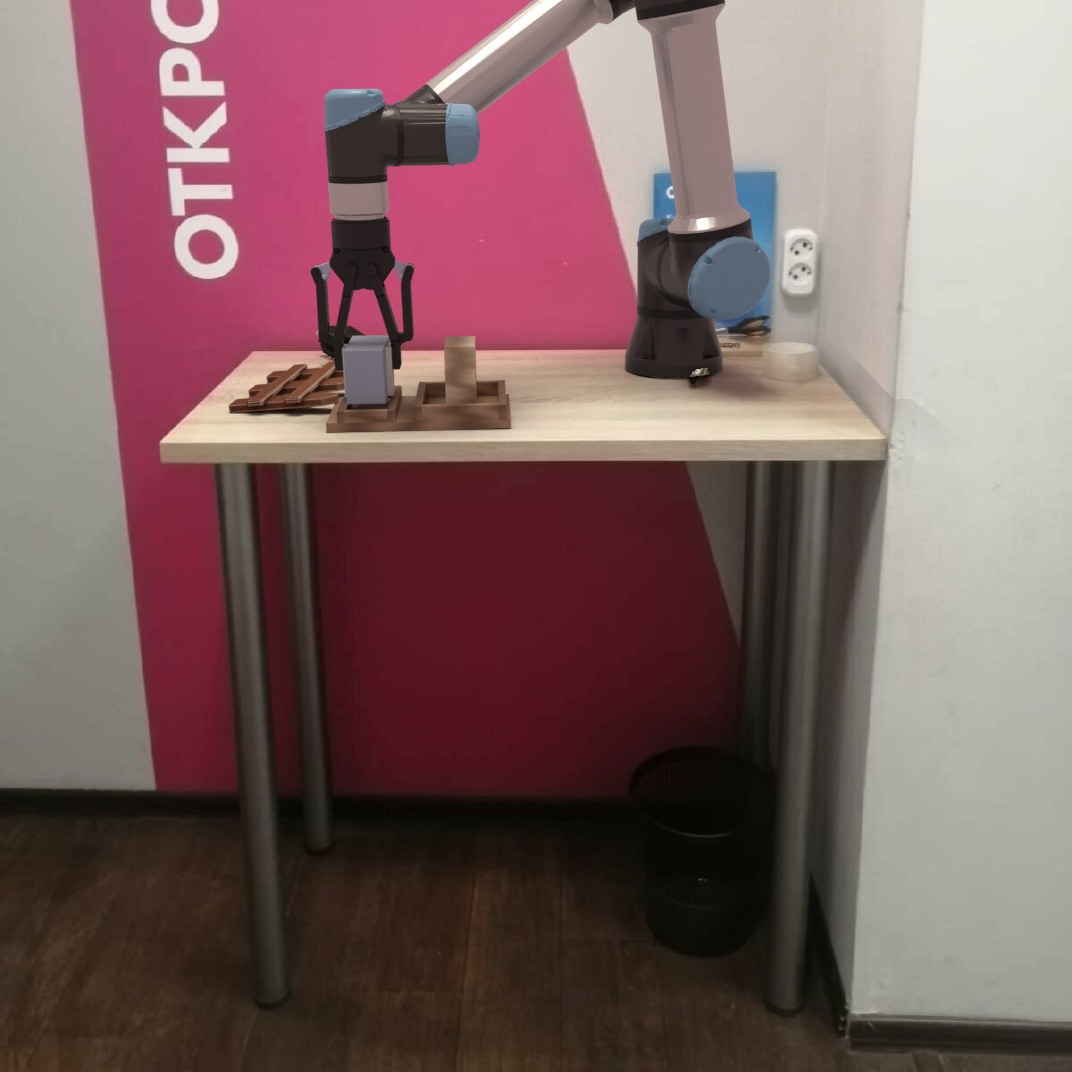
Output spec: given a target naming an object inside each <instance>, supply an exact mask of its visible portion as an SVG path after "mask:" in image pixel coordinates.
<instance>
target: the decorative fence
mask: <svg viewBox="0 0 1072 1072" xmlns="http://www.w3.org/2000/svg"><path fill="white" fill-rule="evenodd" d="M265 378H266V383H260V384H257V383H256V384H255V385H253V386H252V387H251V388H249V389H248V391H247V392H248V396H249V397H246V398H236V399H235V400H234V401H232V402H231V403H229V405H228V410H229V413H230V414H237V413H251V412H265V411H274V410H275V411H278V410H287V409H301V408H302V409H304V408H316V407H325V406H330V405H334V404H335V403H337V402H338V401H339V397H340V396H339V393H338V392H339V391H340V392H341V391H345V389H344V373H343V371H337V370H336V368H335V360H334V361H328V362H326V363H325V364H324V365H322V366H321V367H310V368H308V364H307V363H299V364H293V365H292V366H291V367H290V368H288V369H287V370H274V371H272V372H270V373H269V374H267V376H265Z"/></svg>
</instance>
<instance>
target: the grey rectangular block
mask: <svg viewBox="0 0 1072 1072" xmlns="http://www.w3.org/2000/svg"><path fill="white" fill-rule="evenodd" d="M387 343H390V339H389V336H388V334H387V335H386V334H384V335H383V334H382V335H380V334H379V335H378V334H377V335H375V334H374V335H366V336H352V338H351V339H350V341H349V343H348V344H347V346H346V348H345V350H344V366H345V382H346V397H347V404H385V403H386V400H387V397H388V389H387V370H386V351H385V347H386V345H387Z"/></svg>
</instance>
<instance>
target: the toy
mask: <svg viewBox="0 0 1072 1072" xmlns="http://www.w3.org/2000/svg"><path fill="white" fill-rule="evenodd" d="M335 329H336V325H330V333H333V334H335ZM315 334H316V336H317V337H319V332H318V330H316V331H315ZM352 336H367V335H366V334H364V333H363V332H361V331H360V330H358V329H356V328H355V327H353V326H352V325H347V328H346V333H345V338H344V339H345V340H344V344H348V343H349V341H350V339H351V338H352ZM317 342H318V343H319V344H320V345H319V346H320V348H321V351H322V353H323V354H325V355H327V356H328V357H330V358H332V359H334V348H333V346H332V345H330V344H327V343H322V342H320V340H319V338H318V339H317Z"/></svg>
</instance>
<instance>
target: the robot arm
mask: <svg viewBox="0 0 1072 1072" xmlns="http://www.w3.org/2000/svg"><path fill="white" fill-rule="evenodd" d="M725 7H726V0H532V1H530V2H529V3H528V4H527V5H526V6H524V7H523V8H521V10H519V11H518V12H516V13H515V14H514V15H512V16H511V17H510V18H509V19H507V20H506V21H505V22H503V23H502V24H501V25H499V26H498V27H497V28H496V29H494V30H493V31H492V32H490V33H489V34H488V35H486V36H485V37H484V38H483V39H481V40H480V41H479V42H477V43H476V44H475V45H474V46H473V47H471V48H469V49H468V50H467V51H466V52H465V53H463V54H462V55H460V56H459V57H458V58H457V59H456V60H454V61H453V62H451V63H450V64H449V65H448V66H446V67H444V69H442V70H441V71H440V72H439V73H437V74H436V75H435V76H433V77H432V78H430V79H429V80H428V81H427V82H425V84H424V85H422V86H421V87H420V88H418V89H417V90H415V91H414V92H413V93H411V94H410V95H408V96H407V97H406V98H405V99H404V100H399V101H396V102H394V103H393V104H388V103H387V104H386V101H385V99H384V93H383V91H382V90H381V89H379V88H336V89H334V88H333V89H330V90H329V91H327V93H326V94H325V96H324V100H323V106H324V107H323V110H324V113H323V114H324V119H323V120H324V121H323V122H324V124H323V131H324V138H325V139H324V141H325V142H324V143H325V152H326V153H325V154H326V167H327V178H328V180H327V181H328V182H327V186H328V199H329V201H328V202H329V203H328V204H329V212H330V214H331V215H333V216H334V217H333V218H332V219H331V220H330V230H331V231H330V232H331V246H332V251H331V252H332V253H331V256H330V258H329V261H327V262H324V263H322V264H315V265H314V266H313V267H311V269H310V272H309V273H310V276H311V278H312V279H313V282H314V285H315V291H316V292H315V295H316V313H317V327H318V330H317V331H318V332H317V333H318V335H319V336H318V339H319V340H320V342H322V343H327V344H330V345H332V346H333V348H334V361H335V368H336V370H337V371H343V373H344V389H345V390H344V394H345V396H346V382H345V366H344V350H345V348H346V346H347V344H344V340H345V339H344V338H345V333H346V328H347V326H348V322H349V316H350V312H351V308H352V307H351V306H352V303H353V297H354V293H355V291H359V290H363V289H364V290H368V291H373V294H374V297H375V298H376V301H377V304H378V307H379V311H380V314H381V316H382V320H383V323H384V326H385V327H384V328H385V330H386V332H387V335H388V336H389V339H390V343H387V345H386V347H385V351H386V370H387V389H388V396H393V395H394V392H395V386H396V385H395V370H401V367H402V364H403V362H402V345H403V344H404V343H407V342H411V341H412V340H413V339H414V334H415V330H414V313H413V311H414V310H413V296H412V295H413V293H412V279H413V276H414V273H415V269H416V267H415V265H414V263H411V262H409V263H405V262H402V261H399V260H396V257H395V255H394V253H393V251H392V243H391V239H392V238H391V224H390V223H391V221H390V219H389V217H387V216H386V215H385V214H387V213H388V212H389V211H390V206H389V204H390V203H389V201H390V200H389V185H388V184H389V182H388V167H392V168H396V167H397V168H398V167H419V166H420V167H422V166H427V167H428V166H429V167H430V166H432V167H433V166H450V167H454V166H456V165H469V164H472V163H474V162H475V161H476V159H477V157H478V155H479V152H480V148H481V147H480V146H481V128H480V121H479V117H478V116H479V115H480V114H482V113H483V112H484V111H486V110H487V109H488V108H490V107H491V106H492V105H493V104H494V103H495V102H497V101H498V100H500V99H501V98H502V97H504V96H505V95H506V94H507V93H508V92H510V91H511V90H513V89H514V88H515V87H516V86H518V85H519V84H521V83H522V82H523V81H524V80H525V79H528V78H529V77H530V75H532V74H534V73H535V72H536V71H537V70H539V69H540V68H541V67H543V65H545V64H546V63H548V62H549V61H550V60H551V59H553V58H555V57H556V56H557V55H558V54H559V53H561V52H562V51H563V50H565V49H566V48H567V47H569V46H570V45H571V44H573V43H574V42H575V41H576V40H578V39H579V38H581V37H582V36H583V35H584V34H585V33H587V32H589V31H590V30H591V29H592V28H594V27H595V26H596V25H597V24H603V25H610V24H611V23H612V22H613V21H616V19H618V18H619V17H621V16H622V15H623V14H625V13H627V12H629V11H630V10H632V9H635V15H636V20H637V21H636V22H637V24H639V25H640V26H641V27H643V28H644V29H645V30H647V31H648V32H649V34H650V37H651V44H652V49H653V50H652V51H653V58H654V64H655V65H654V66H655V73H656V80H657V86H658V87H657V88H658V94H659V100H660V106H661V107H660V108H661V114H662V122H663V128H664V129H663V130H664V134H665V135H664V136H665V142H666V143H665V144H666V148H667V149H666V150H667V156H668V162H669V163H668V165H669V171H670V177H671V183H672V191H673V198H674V207H675V216H674V217H664V218H650V219H649V218H648V219H645V220H642V222H641V224H639V228H638V237H637V241H636V246H637V270H636V271H637V275H636V276H637V279H636V281H637V284H636V285H637V292H636V293H637V294H636V295H637V297H636V299H637V300H636V302H637V304H636V305H637V307H636V308H637V309H636V321H635V324H634V327H633V329H632V332H631V335H630V338H629V341H628V344H627V347H626V350H625V355H624V356H625V357H624V367H625V370H626V371H628V372H630V373H633V374H636V375H638V376H644V377H652V378H660V379H661V378H662V379H663V378H664V379H689V377H690V375H691V374H692V372H693V371H695V370H696V369H701V368H708V371H709V375H708V376H711V375H714V374H717V373H720V372H721V371H722V370H723V362H724V361H723V357H724V356H723V352H722V348H721V343H720V341H719V340H720V339H719V338H718V334H717V330H716V326H715V322H714V319H716V320H720V321H721V320H722V321H727V320H729V321H730V320H734V319H738V318H740V317H742V316H744V315H746V314H748V313H749V312H751V311H752V310H753V309H754V308H755V307H756V306H757V305H758V303H759V302H760V300H761V299H762V298H763V296H764V295H765V294H766V292H767V289H768V287H769V283H770V280H771V279H770V277H771V264H770V260H769V257H768V255H767V253H766V251H765V250H764V248H762V246H761V245H760V244H759V243H758V242H757V241H756V240H755V239H754V234H753V233H754V232H753V226H752V225H753V224H752V220H751V219H752V217H751V213H750V212H749V211H748V210H747V209H745V208H744V207H742V206H741V205H740V204H739V202H738V196H737V195H738V193H737V187H736V178H735V170H734V164H733V163H734V162H733V155H732V146H731V138H730V130H729V122H728V121H729V120H728V113H727V105H726V97H725V91H724V90H725V88H724V80H723V73H722V63H721V55H720V48H719V41H718V40H719V39H718V38H719V37H718V33H717V32H718V31H717V24H716V23H717V19H718V17H719V16H720V14H721V13H722V11H723V10H724V8H725ZM393 270H394V271H396V278H397V279H398V280H401V282H400V296H401V310H402V311H401V312H402V313H401V314H402V327H403V328H402V329H403V331H401V332H400V331H399V328H398V325H397V321H396V318H395V315H394V312H393V308H392V306H391V302H390V299H389V295H388V293H387V288H386V284H385V281H386V280H387V278H388V277H389V275H390V274H391V272H392V271H393ZM331 271H333V273H335V276H337V277H338V279H339V280H340V281H341V283H342V284H343V287H342V293H341V300H340V303H339V309H338V315H337V321H336V324H335V326H336V329H335V334H333V333H330V326H331V325H330V309H329V308H330V307H329V305H330V304H329V289H328V288H329V287H328V281H329V279H330V277H331V274H330V273H331Z"/></svg>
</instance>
